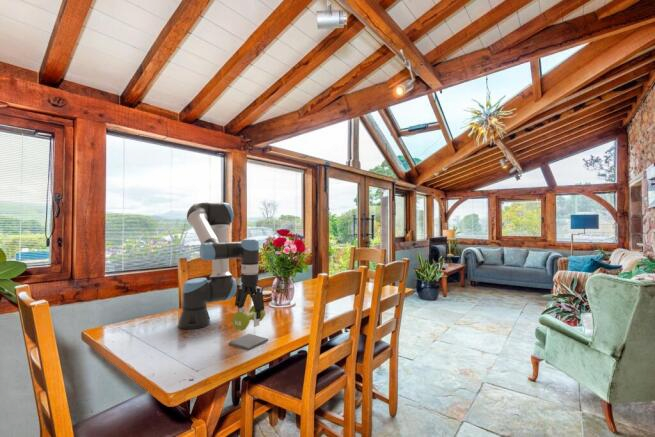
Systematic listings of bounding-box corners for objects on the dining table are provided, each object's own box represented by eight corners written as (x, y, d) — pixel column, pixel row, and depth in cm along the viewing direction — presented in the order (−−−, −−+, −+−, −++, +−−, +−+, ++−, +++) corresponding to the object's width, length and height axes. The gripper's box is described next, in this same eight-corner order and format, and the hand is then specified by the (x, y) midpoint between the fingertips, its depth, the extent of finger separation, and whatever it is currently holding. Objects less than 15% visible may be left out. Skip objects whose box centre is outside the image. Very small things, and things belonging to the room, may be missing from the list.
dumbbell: (245, 332, 132) (245, 315, 132) (229, 329, 135) (230, 312, 135) (266, 320, 147) (267, 305, 147) (252, 318, 150) (252, 303, 150)
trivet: (229, 344, 139) (229, 341, 139) (248, 335, 149) (248, 333, 149) (248, 350, 133) (248, 347, 133) (268, 340, 143) (268, 338, 143)
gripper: (226, 272, 143) (226, 321, 143) (261, 277, 132) (260, 331, 132) (239, 269, 150) (238, 317, 150) (273, 274, 139) (272, 326, 139)
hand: (249, 323), depth 141 cm, fingers closed on dumbbell, 8 cm apart
